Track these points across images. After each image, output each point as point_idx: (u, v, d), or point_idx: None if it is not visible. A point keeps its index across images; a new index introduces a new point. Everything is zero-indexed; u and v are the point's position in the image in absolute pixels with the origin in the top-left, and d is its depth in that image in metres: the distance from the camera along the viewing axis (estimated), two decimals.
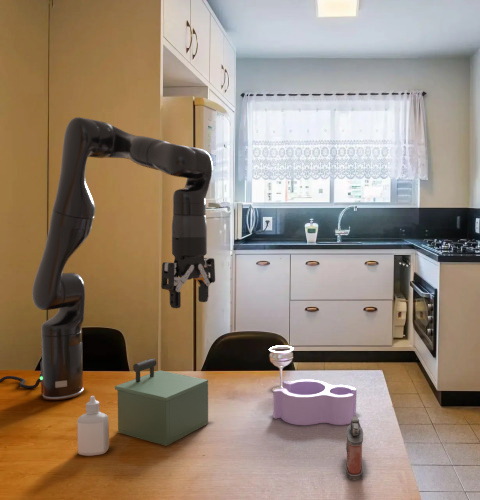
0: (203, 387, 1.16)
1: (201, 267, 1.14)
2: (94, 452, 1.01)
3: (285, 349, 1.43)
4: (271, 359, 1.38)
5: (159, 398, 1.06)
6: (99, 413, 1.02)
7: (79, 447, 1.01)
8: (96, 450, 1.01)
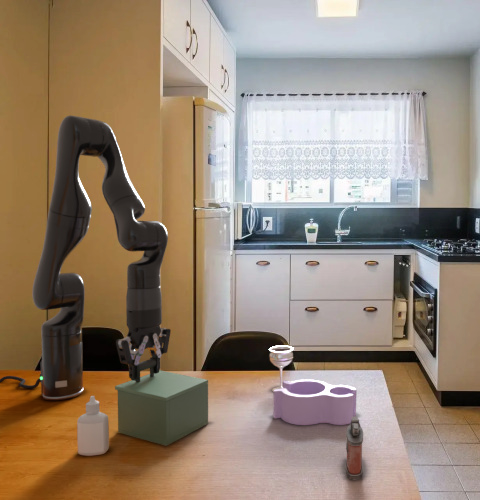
0: (203, 387, 1.16)
1: (156, 336, 1.16)
2: (94, 452, 1.01)
3: (285, 349, 1.43)
4: (271, 359, 1.38)
5: (159, 398, 1.06)
6: (99, 413, 1.02)
7: (79, 447, 1.01)
8: (96, 450, 1.01)
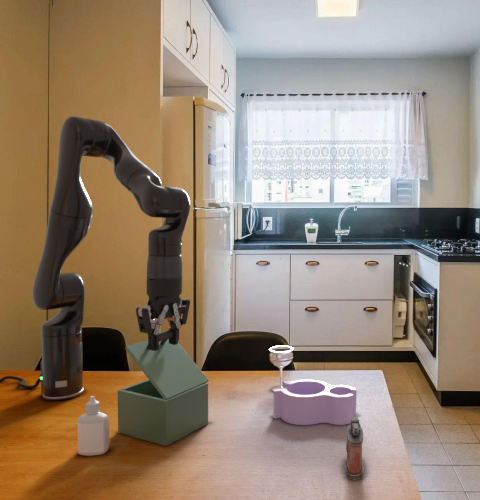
0: (203, 387, 1.16)
1: (176, 306, 1.13)
2: (94, 452, 1.01)
3: (285, 349, 1.43)
4: (271, 359, 1.38)
5: (160, 393, 1.06)
6: (99, 413, 1.02)
7: (79, 447, 1.01)
8: (96, 450, 1.01)
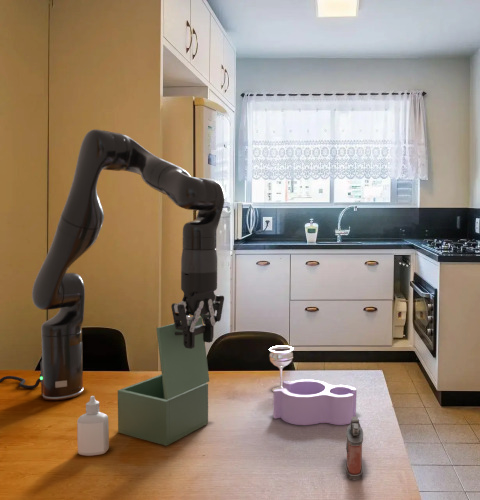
0: (203, 387, 1.16)
1: (211, 302, 1.09)
2: (94, 452, 1.01)
3: (285, 349, 1.43)
4: (271, 359, 1.38)
5: (164, 390, 1.05)
6: (99, 413, 1.02)
7: (79, 447, 1.01)
8: (96, 450, 1.01)
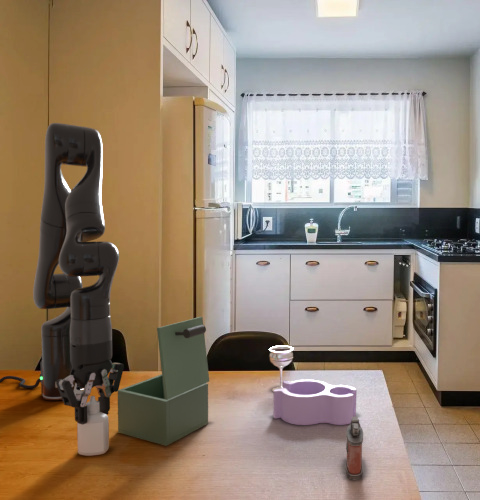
0: (203, 387, 1.16)
1: (105, 373, 1.02)
2: (94, 452, 1.01)
3: (285, 349, 1.43)
4: (271, 359, 1.38)
5: (164, 390, 1.05)
6: (99, 413, 1.02)
7: (79, 447, 1.01)
8: (96, 450, 1.01)
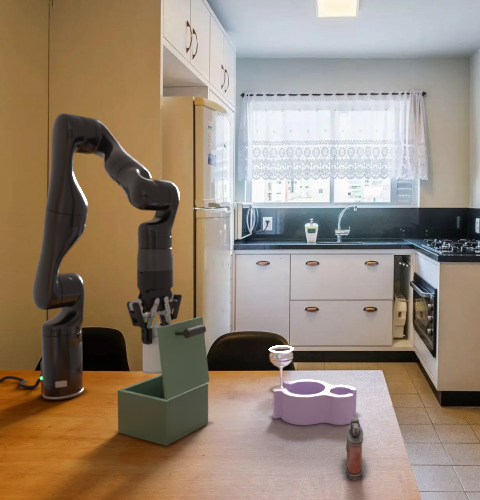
0: (203, 387, 1.16)
1: (167, 300, 1.13)
2: (158, 371, 1.12)
3: (285, 349, 1.43)
4: (271, 359, 1.38)
5: (164, 390, 1.05)
6: None
7: (144, 366, 1.12)
8: (159, 369, 1.12)
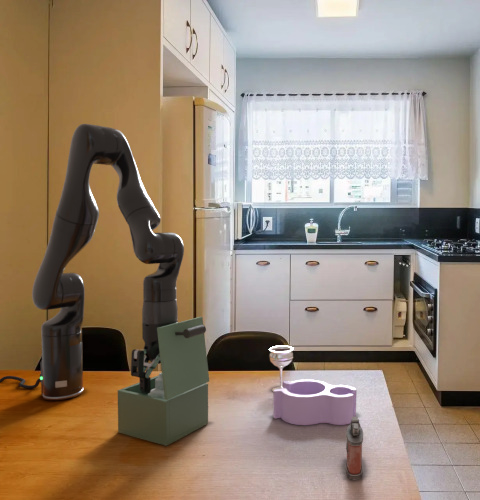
0: (203, 387, 1.16)
1: None
2: None
3: (285, 349, 1.43)
4: (271, 359, 1.38)
5: (164, 390, 1.05)
6: None
7: None
8: None
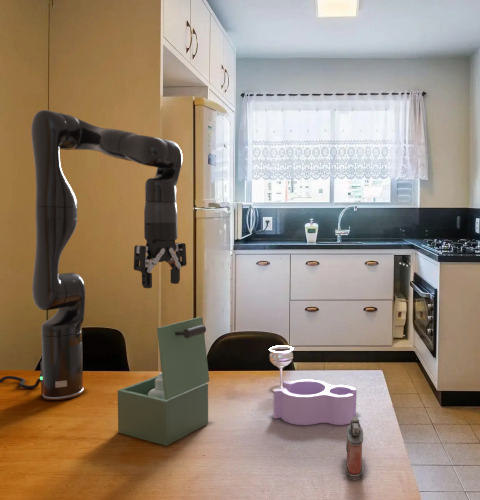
0: (203, 387, 1.16)
1: (172, 251, 1.22)
2: None
3: (285, 349, 1.43)
4: (271, 359, 1.38)
5: (164, 390, 1.05)
6: None
7: None
8: None
